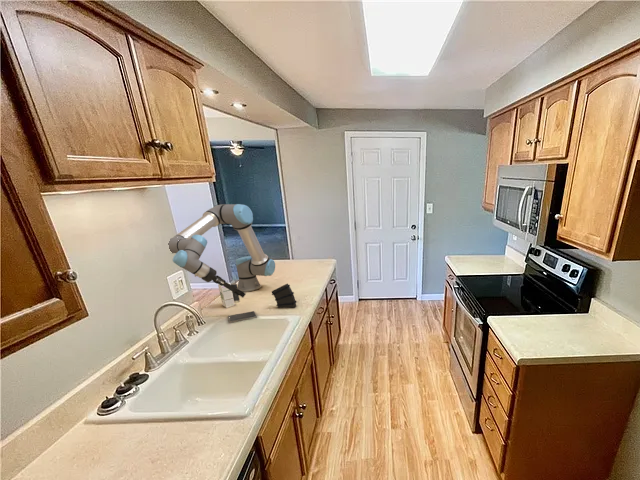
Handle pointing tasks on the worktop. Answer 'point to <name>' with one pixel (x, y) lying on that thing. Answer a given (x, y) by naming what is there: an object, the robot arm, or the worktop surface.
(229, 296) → the syrup box
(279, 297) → the black ridged block
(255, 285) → the robot arm
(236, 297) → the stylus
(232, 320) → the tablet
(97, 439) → the worktop surface
